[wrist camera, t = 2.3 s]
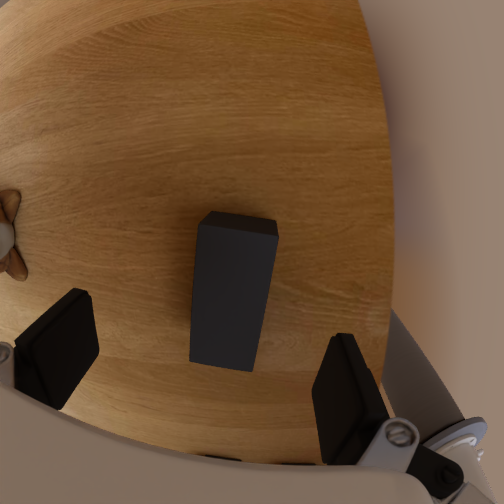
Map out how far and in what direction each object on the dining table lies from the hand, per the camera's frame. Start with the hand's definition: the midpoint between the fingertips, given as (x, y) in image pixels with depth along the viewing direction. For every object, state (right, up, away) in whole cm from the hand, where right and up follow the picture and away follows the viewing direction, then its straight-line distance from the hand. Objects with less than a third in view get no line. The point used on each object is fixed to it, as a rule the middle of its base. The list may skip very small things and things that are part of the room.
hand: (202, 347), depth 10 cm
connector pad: (0, +1, +13) cm, 14 cm away
